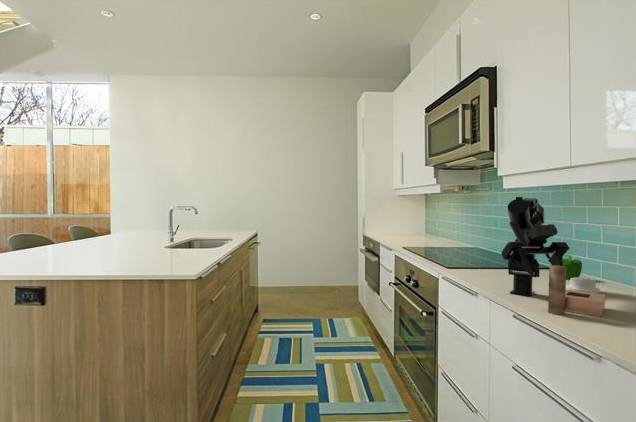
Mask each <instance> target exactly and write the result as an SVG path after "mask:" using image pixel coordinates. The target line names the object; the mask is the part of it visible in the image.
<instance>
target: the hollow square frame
mask: <svg viewBox="0 0 636 422" xmlns="http://www.w3.org/2000/svg"><path fill="white" fill-rule="evenodd" d="M605 309H606V294H604V293H603V294H602V293H589V292H581V291H574V290H566V289H565V312H568V311H569V312H568V313H576V314H582V315H588V316H593V317H599V318H602V317H603V316H602V315H603V313H604V311H605Z"/></svg>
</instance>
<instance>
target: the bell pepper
mask: <svg viewBox="0 0 636 422" xmlns="http://www.w3.org/2000/svg"><path fill="white" fill-rule="evenodd" d="M564 256H565V257H567V258H563V266H565V267H566V280H570V278H575V277H576V278H581V273H582V271H583V263H582V260H580V259H576V258H575V259H572V256H571V254H570V253H565V254H564Z"/></svg>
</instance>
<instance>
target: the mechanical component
mask: <svg viewBox="0 0 636 422" xmlns="http://www.w3.org/2000/svg"><path fill="white" fill-rule="evenodd" d="M596 282H597V281H596V280H595V279H593V278H592V279H591V278H588V277H587V278H586V277H579V278H576V277H575V278H570V279H569V284H566V290H574V291H581V292H589V293H597V294H601V293H600V292H601V289H600V288H599V287H597V285H596Z"/></svg>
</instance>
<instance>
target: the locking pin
mask: <svg viewBox="0 0 636 422" xmlns="http://www.w3.org/2000/svg"><path fill="white" fill-rule="evenodd" d="M548 268H549V271H548V272H549V273H548V296H547V297H548V300H547V301H548V304H547V305H548V307H547V312H548V313H549V314H551V313H552V315H556V314H558V315H557V316H564V315H565V314H566V313H565V312H566V311H565V289H566V285H567V284H566V282H567V281H566V280H567V279H566V267H565V266H557V265H551V264H550V265H549V267H548ZM563 314H564V315H563Z"/></svg>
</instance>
